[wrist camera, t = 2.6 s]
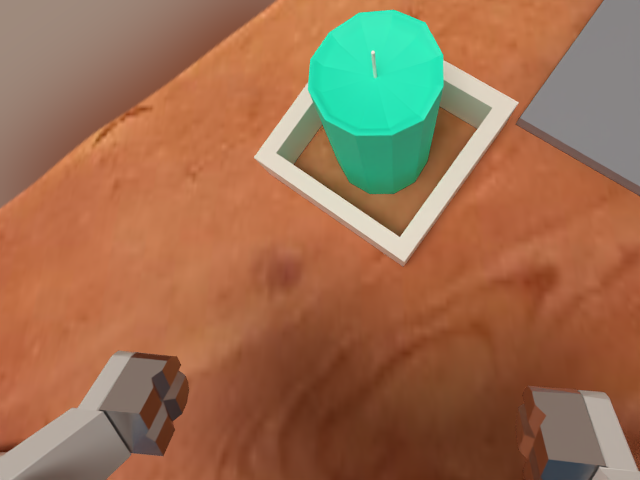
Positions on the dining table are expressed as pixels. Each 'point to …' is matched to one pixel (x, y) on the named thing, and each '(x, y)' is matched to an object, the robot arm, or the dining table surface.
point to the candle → (378, 97)
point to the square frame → (489, 118)
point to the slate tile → (596, 96)
